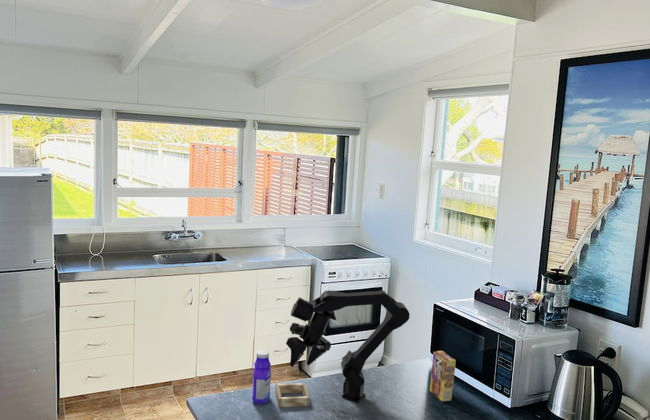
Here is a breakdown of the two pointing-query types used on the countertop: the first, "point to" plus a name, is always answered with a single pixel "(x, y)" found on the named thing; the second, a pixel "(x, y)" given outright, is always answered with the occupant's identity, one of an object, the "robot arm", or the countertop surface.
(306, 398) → the wooden square frame
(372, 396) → the countertop surface
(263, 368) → the bottle
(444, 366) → the candy box
